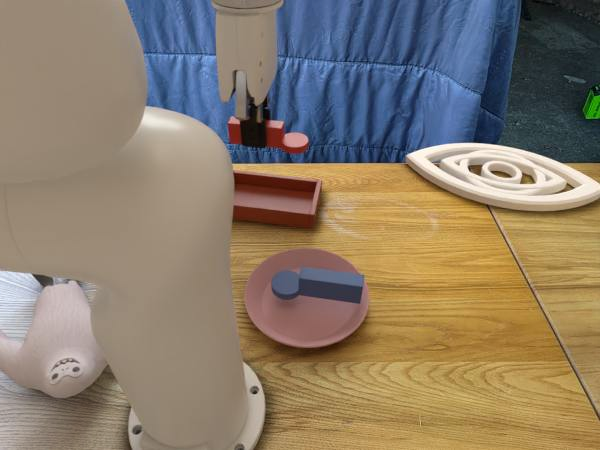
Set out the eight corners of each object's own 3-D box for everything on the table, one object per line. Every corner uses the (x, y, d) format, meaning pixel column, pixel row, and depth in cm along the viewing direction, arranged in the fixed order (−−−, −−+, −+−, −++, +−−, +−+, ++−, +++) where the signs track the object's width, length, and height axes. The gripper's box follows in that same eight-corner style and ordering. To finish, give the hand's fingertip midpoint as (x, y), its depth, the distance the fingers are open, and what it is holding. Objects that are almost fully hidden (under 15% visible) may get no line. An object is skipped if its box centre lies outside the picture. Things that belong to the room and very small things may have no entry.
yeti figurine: (125, 213, 56) (193, 318, 43) (135, 253, 60) (200, 360, 47) (-65, 273, 46) (-50, 429, 34) (-38, 315, 50) (-15, 469, 38)
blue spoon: (268, 297, 50) (267, 280, 48) (274, 273, 53) (274, 256, 51) (359, 310, 49) (362, 293, 47) (361, 285, 52) (364, 268, 50)
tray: (321, 193, 67) (322, 179, 66) (313, 229, 62) (314, 215, 60) (231, 183, 69) (230, 169, 67) (216, 217, 63) (214, 202, 61)
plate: (258, 371, 46) (257, 361, 44) (236, 270, 56) (234, 259, 55) (387, 340, 49) (390, 329, 47) (343, 249, 59) (344, 238, 57)
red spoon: (310, 140, 59) (311, 120, 57) (306, 155, 56) (306, 135, 54) (235, 132, 60) (233, 112, 58) (227, 147, 58) (225, 126, 56)
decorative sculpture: (405, 143, 78) (407, 136, 77) (581, 158, 75) (586, 150, 74) (409, 197, 67) (411, 189, 66) (615, 217, 64) (621, 208, 63)
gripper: (232, -35, 52) (244, 108, 65) (184, 10, 41) (210, 173, 53) (296, -31, 51) (295, 113, 64) (265, 16, 40) (271, 180, 52)
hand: (256, 140), depth 58 cm, fingers closed on red spoon
